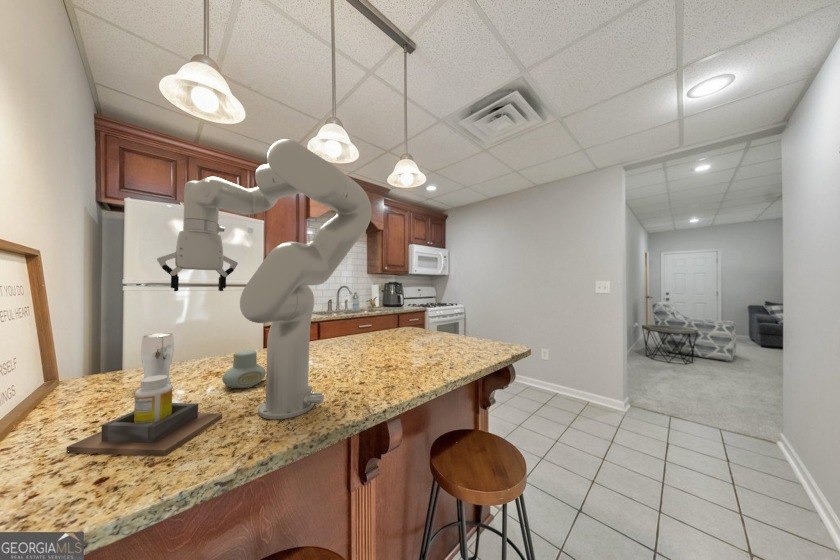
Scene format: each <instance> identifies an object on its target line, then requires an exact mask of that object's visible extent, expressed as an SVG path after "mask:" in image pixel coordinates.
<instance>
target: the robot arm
mask: <svg viewBox="0 0 840 560" xmlns="http://www.w3.org/2000/svg"><path fill="white" fill-rule="evenodd" d="M266 156H267V157H266V158H267V160H266V161H267V163H266V164H261V165H260V166H259V167H257V169H255V177H254V179H255V182H256V186H255V187H253V188H245V187H243V186H242V185H239V184H236V183H233V182H231V181H228V180H225V179H223V178H220V177H217V176H209V177H204V178H203V179H201V180H190V181H187V182H185V184H184V191H183V193H184V194H183V195H184V197H183V223H182V224H183V225H182V230H181V231H179V232H178V235H177V239H176V240H177V241H176V247H175V248H176V249H175V252H172V253H170V254H166V255H162V256H159V257H157V258H156V261H157V262H158V264H159V266H160V267H161V269H162V270H164V271H165V272H166V273H167V274H168V275H169V276H170V289H173V292H179V282H180V277H179V275H178V274H179V273H180V272H181V271H182V270H196V271H216V273H218V275H219V277H218V291H219V292H224V289H226V288H227V287H226V286H227V277H228V276H229V275H230V274H232V273H233V272H234V270H235V269H236V268H237V266H238V264H239V263H238V262H237V261H235V260H234V259H231V258H229V257H227V256H226V255H224V247H223V240H222V236H221V234H219V233H224V232H225V226H224V227H223V226H220V224H219V216H220V215H219V210H220V209H221V210H225V211H229V212H232V213H235V214H238V215H245V216H247V215H254V214H259V213H262V212H266V211H269V210H271V209H272V208H273V207H274V206H275V205H276V204H277V202H278V200H280V199H283V198H287V197H291V196H295V195H299V194H304V195H305V196H306V197H308V199H310V200H312V201H314V202H315V203H317V204H320V205H322V206H323V207H326V208H327V209H329V210H331V211H335V213H336V214H335V216H333V217H332V218H330V219H329V220H328V221H326V222H325V223H323V224H322V226H320V228H319V229H318V230H317V232H316V233H315V235H314V236H313V237H312V238H311V239H310V240H309V241H308V242H307V243H303V242H297V241H286V242H283V243H281V244H279V245H277V246H276V247H274V248H273V249H271V251H270V252H269V253H268V254H267V255H266V257H265V258H264V259H263V261H262V263H261V264H260V265H259V266H258V268H257V269H256V271H255V272H254V274H253V275H252V276H251V278H250V279H249V280H248V282H247V283H246V284H245V286H244V288H243V290H242V292H241V295H240V299H239V309H240V312H241V314H242V316H243V317H244V318H245V319H246V320H248V321H250V322H252V323H255V324H268V323H271V325H270V327H269V331H268V334H267V345H266V369H265V372H266V374H265V376H266V377H265V383H266V384H265V400H264V401H263V402H261V403H260V404H259V405H258V408H257V414H258V415H259V417H262V418H263V419H268V420H285V419H291V418H294V417H297V416H298V417H299V416H302V415H304V414H305V413H307V412H309V411H310V410H311V409H313V407H314V406H315V404H323V403H324V401H325V395H323V392H321V391H317V392H316V391H315V392H314V391H313V386H312V385H309V374H310V373H309V367H310V341H311V340H310V336H311V334H310V333H311V323H312V317H313V313H314V308H315V307H314V306H315V296H314V291H313V290H312V288H311V287H310V286H319V285H321V284H324V283H326V282H327V281H328V280H329V279H330V277H332V275H333V273H334V272H335V271H336V270H337V268H338V267H339V266H340V264H341V263H342V262H343V260H345V258H346V256H347V255H349V254H348V253H349V252H350V251H351V250H352V248H353V247H354V246H355V244H356V243H357V242H358V241H359V240H360V238H361V237H363V235H364V233H365V232H366V230H367V229H368V226H369V225H370V222H371V219H372V205H371V204H372V203H371V201H370V198H369V195H368V194H367V192H366V191H365V190H364V189H363V187H362V186H361V185H359V184H358V183H357V182H356V181H355V180H353V178H351V177H350V176H348V175H347V174H346V173H344V172H343V171H342V170H340V169H339V168H338V167H336V166H335V165H333V164H332V163H331V162H329V161H328V160H326V159H325V158H322V157H321V156H319V155H318V154H316V153H315V152H313V151H312V150H310V149H309V148H308V147H306V146H304V145H303V144H301V143H300V142H298V141H296V140H294V139H289V138H285V139H280V140H278V141H277V140H276V141H275V142H274V143H273V144H272V145H271V146H270V147H269V149H268V151H267V155H266ZM173 259H175V268H171V267H170V266H169V265H168V264H167V262H168V261H170V260H173ZM224 262H225V263H227V264H229V268H227V269H226V270H224V268H223V267H224Z"/></svg>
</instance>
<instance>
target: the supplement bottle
mask: <svg viewBox="0 0 840 560" xmlns="http://www.w3.org/2000/svg"><path fill="white" fill-rule="evenodd" d="M167 382H168V380H167V376H166V375H157V376H151V377H147V378H142V379H141V380H140V385H139V386H140V388H139V389H137V390H136V391H135V393H134V423H156V422H158V421H160V420H162V419H164V418H166V417H168V416H170V415H172V403H173V386H172V384H167Z"/></svg>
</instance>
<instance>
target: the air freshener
mask: <svg viewBox="0 0 840 560" xmlns="http://www.w3.org/2000/svg"><path fill="white" fill-rule="evenodd" d="M257 356H258V355H257V351H256V350H254V349H245V350H243V349H242V350H239V351H236V352H234V353H233V364H232V367H230V368H229V369H227V370H226V371H225V372H224V373H223V375H222V382H223V384H224V385H225V386H226V387H228V388H231V389H236V388H237V389H239V388H240V390H242V389H241V388H246V389H249V388H248V387H250V388H252V387H254V386H256V385H257V384H259V383H260V382H262V381H263V380H264V378H266V377H265V376H266V369H265V367H263V366H262V365H261V364H258V363H257ZM251 386H252V387H251Z"/></svg>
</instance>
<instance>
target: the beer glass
mask: <svg viewBox="0 0 840 560" xmlns="http://www.w3.org/2000/svg"><path fill="white" fill-rule="evenodd" d="M174 344H175V342H174V333H171V332H170V333H169V332H167V333H166V332H161V333H152V334H145V335H142V340H141V347H140V357H141V364H142V368H143V377H144V378H147V377H151V376H157V375H166V376H167V380H168V382H167V384H170V385H172V384H171V383H172V382H171V377H170V369H171V364H172V360H173V356H174V350H175V348H174V347H175V345H174ZM144 378H143V379H144Z"/></svg>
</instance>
